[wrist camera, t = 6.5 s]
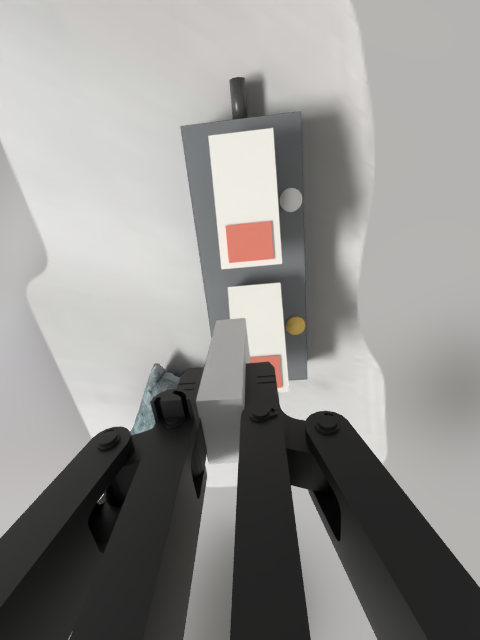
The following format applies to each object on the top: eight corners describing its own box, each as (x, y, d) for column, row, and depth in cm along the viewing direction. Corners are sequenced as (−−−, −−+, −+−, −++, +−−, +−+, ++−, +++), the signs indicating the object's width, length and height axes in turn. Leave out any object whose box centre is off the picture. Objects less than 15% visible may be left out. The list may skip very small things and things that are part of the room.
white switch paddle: (229, 289, 28) (227, 286, 26) (279, 285, 28) (280, 282, 26) (237, 391, 28) (235, 395, 26) (287, 388, 28) (289, 392, 26)
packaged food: (231, 378, 36) (227, 405, 32) (198, 451, 41) (191, 484, 36) (159, 351, 35) (144, 375, 31) (133, 429, 40) (117, 460, 35)
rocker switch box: (183, 91, 26) (167, 69, 21) (293, 77, 25) (303, 51, 20) (221, 367, 36) (216, 395, 31) (302, 361, 35) (310, 389, 30)
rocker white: (211, 144, 23) (207, 134, 21) (272, 137, 23) (273, 126, 21) (223, 269, 25) (221, 269, 23) (280, 263, 24) (282, 263, 23)
